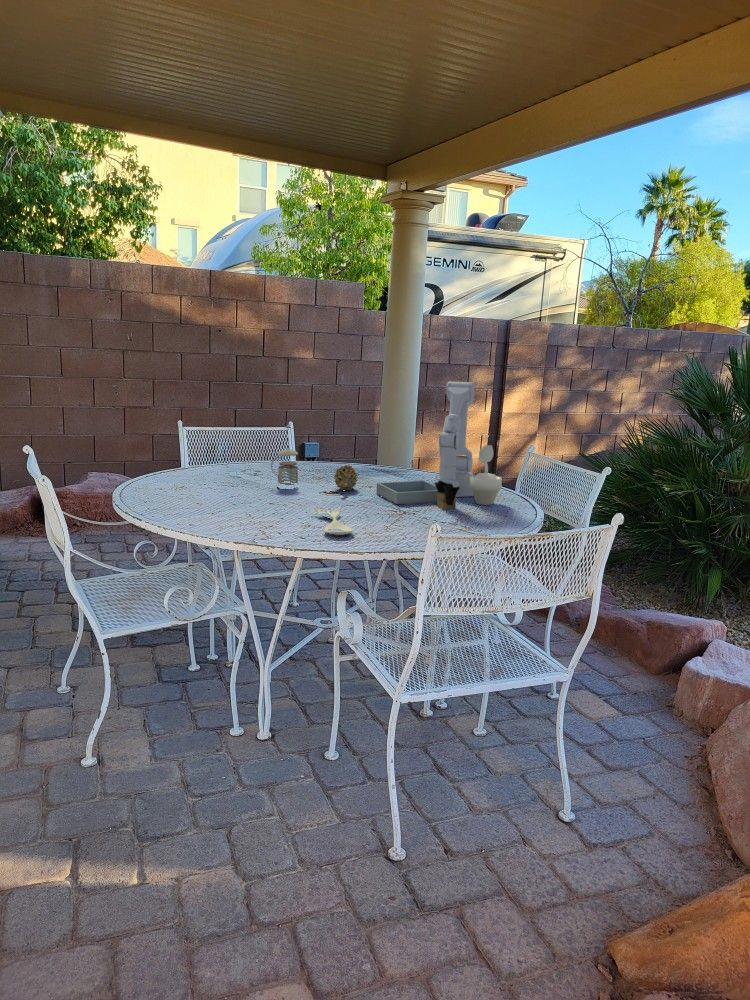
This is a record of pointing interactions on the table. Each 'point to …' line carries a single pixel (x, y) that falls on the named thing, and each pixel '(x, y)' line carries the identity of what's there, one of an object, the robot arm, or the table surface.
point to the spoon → (335, 523)
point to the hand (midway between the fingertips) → (446, 503)
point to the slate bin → (408, 492)
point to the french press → (287, 467)
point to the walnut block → (444, 501)
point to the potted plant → (485, 479)
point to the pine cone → (345, 477)
